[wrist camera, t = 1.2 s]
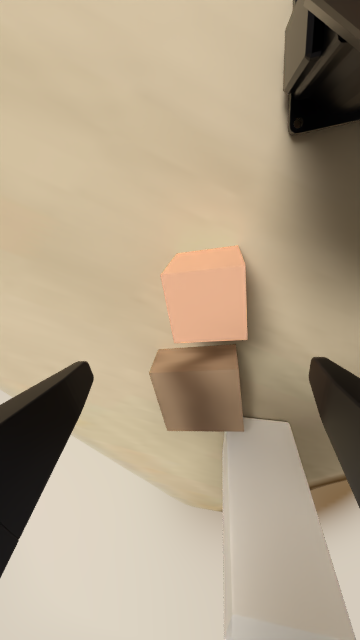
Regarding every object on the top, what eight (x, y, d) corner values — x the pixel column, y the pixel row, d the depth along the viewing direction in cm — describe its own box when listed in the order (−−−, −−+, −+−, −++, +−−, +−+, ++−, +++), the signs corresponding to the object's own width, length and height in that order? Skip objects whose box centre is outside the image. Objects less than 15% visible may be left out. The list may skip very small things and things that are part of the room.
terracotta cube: (238, 245, 18) (245, 265, 13) (240, 302, 20) (247, 339, 15) (176, 253, 19) (160, 275, 14) (185, 307, 21) (174, 343, 16)
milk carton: (226, 413, 27) (236, 752, 11) (289, 420, 26) (409, 807, 10) (222, 450, 30) (225, 749, 14) (277, 457, 29) (351, 790, 13)
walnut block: (235, 342, 23) (238, 369, 19) (241, 400, 26) (244, 431, 23) (159, 347, 24) (149, 373, 21) (173, 401, 28) (167, 430, 24)
